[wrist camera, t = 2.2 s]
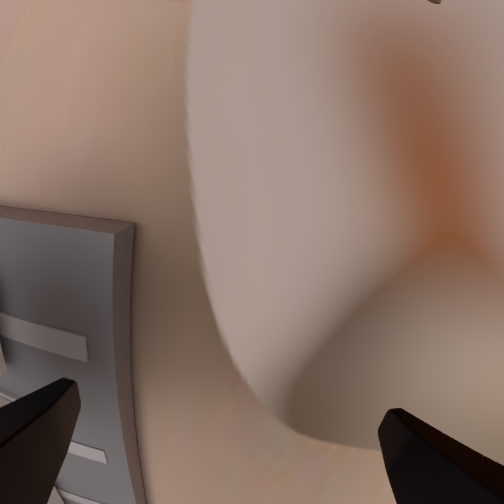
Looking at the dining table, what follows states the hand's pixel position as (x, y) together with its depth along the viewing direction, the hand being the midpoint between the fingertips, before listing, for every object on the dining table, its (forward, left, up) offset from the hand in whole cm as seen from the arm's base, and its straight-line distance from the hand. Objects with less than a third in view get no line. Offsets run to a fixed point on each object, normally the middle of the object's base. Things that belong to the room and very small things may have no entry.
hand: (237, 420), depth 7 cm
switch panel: (+14, +6, -4) cm, 16 cm away
